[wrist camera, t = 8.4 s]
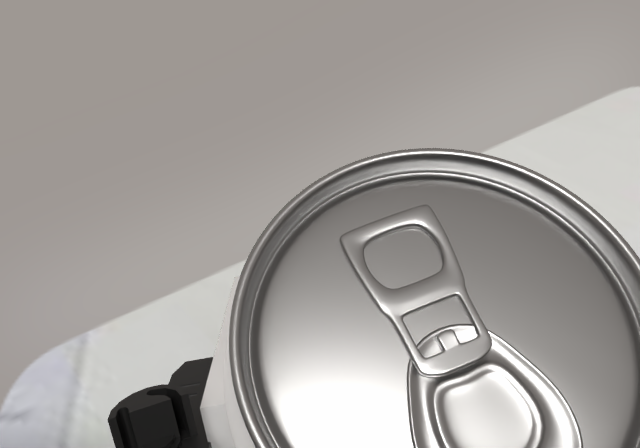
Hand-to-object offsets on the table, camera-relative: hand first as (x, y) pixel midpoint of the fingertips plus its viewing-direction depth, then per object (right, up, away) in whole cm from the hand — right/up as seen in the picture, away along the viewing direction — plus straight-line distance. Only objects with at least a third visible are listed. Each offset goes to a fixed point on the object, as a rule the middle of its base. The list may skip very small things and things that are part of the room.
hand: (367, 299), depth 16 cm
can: (+1, -5, +2) cm, 6 cm away
